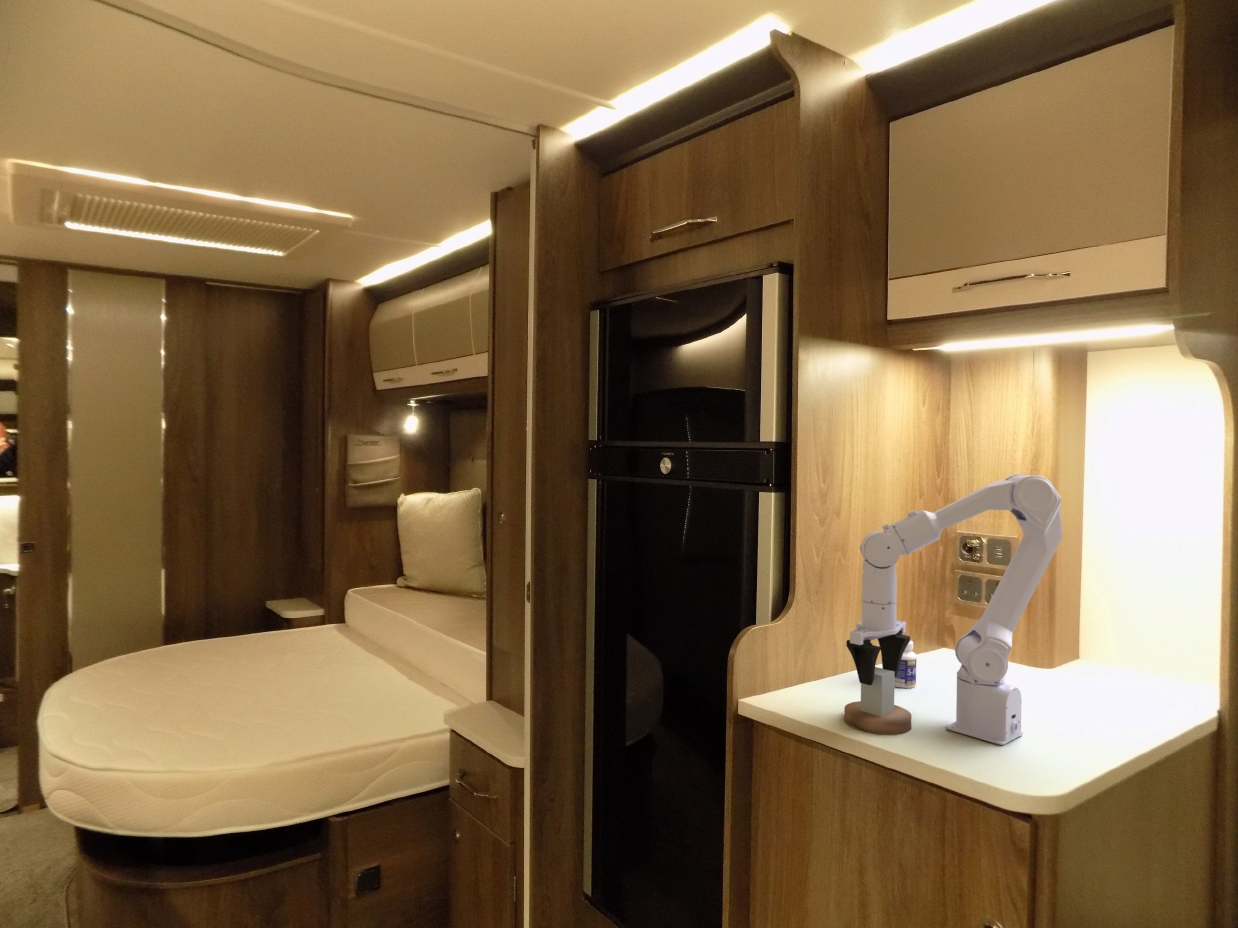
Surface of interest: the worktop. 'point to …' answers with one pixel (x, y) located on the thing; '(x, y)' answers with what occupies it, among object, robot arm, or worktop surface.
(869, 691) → the block
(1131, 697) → the worktop surface
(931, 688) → the worktop surface
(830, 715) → the worktop surface
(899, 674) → the pill bottle
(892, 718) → the plinth
